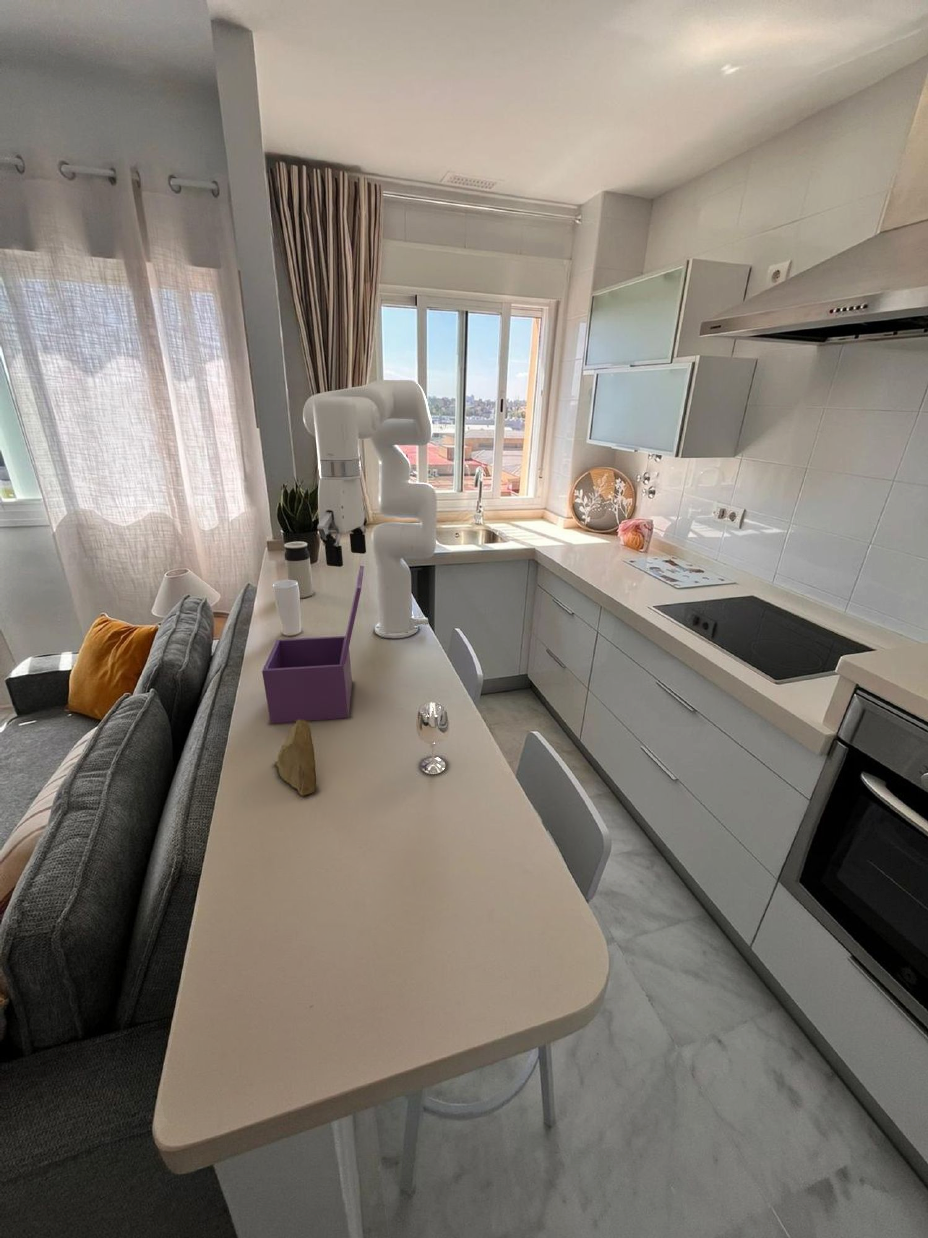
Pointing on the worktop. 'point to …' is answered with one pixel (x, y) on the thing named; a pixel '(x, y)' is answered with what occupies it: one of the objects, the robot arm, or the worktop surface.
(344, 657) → the lid
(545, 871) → the worktop surface
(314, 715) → the purple box
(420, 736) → the wineglass
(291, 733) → the rock
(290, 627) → the drinking glass
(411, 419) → the robot arm
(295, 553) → the travel mug
